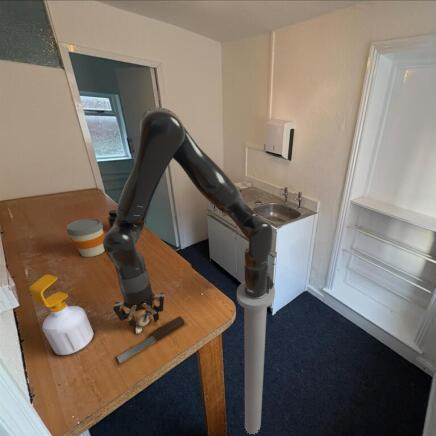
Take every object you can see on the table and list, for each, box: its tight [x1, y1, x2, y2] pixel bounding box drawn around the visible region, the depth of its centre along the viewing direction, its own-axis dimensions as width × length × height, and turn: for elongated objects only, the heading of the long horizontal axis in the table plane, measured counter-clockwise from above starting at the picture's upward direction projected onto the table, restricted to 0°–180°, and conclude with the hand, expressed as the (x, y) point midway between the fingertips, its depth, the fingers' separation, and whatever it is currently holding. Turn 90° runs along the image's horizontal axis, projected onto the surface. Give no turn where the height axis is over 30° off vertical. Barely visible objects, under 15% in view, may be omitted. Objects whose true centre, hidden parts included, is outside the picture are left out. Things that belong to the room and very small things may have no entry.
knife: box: [116, 315, 185, 364], centre depth 73 cm, size 19×3×2 cm, turn 139°
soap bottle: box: [29, 273, 94, 356], centre depth 66 cm, size 9×9×25 cm
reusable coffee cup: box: [66, 217, 106, 258], centre depth 109 cm, size 13×12×15 cm
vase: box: [135, 309, 156, 334], centre depth 77 cm, size 5×5×6 cm
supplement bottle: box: [107, 209, 117, 229], centre depth 128 cm, size 7×7×12 cm
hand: (145, 322), depth 77 cm, fingers closed on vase, 5 cm apart
